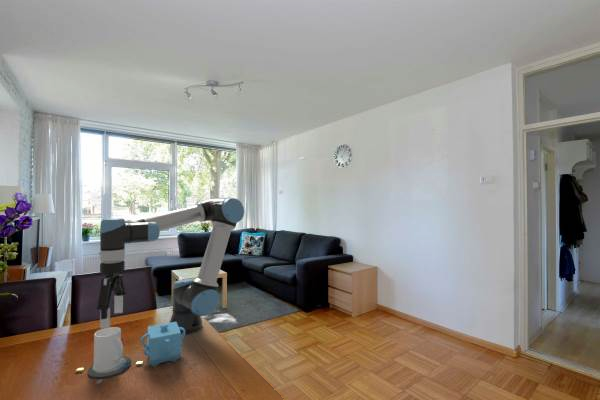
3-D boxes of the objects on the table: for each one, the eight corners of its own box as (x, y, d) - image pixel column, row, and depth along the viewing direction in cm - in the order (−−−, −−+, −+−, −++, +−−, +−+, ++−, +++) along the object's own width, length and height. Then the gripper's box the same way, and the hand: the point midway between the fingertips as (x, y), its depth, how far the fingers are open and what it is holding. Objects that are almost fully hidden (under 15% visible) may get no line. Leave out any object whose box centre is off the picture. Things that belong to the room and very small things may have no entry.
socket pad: (146, 355, 115) (146, 352, 115) (134, 380, 99) (134, 377, 99) (84, 362, 110) (85, 359, 110) (60, 390, 93) (60, 386, 93)
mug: (131, 364, 107) (132, 331, 107) (107, 377, 99) (108, 341, 99) (111, 356, 112) (112, 325, 112) (87, 367, 104) (88, 333, 104)
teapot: (139, 356, 115) (140, 323, 115) (182, 346, 123) (183, 315, 123) (142, 380, 99) (142, 342, 99) (190, 368, 107) (191, 332, 107)
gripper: (113, 255, 118) (112, 308, 118) (85, 269, 94) (84, 336, 94) (134, 254, 120) (133, 306, 120) (111, 268, 96) (111, 333, 96)
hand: (112, 319), depth 107 cm, fingers open, 13 cm apart
